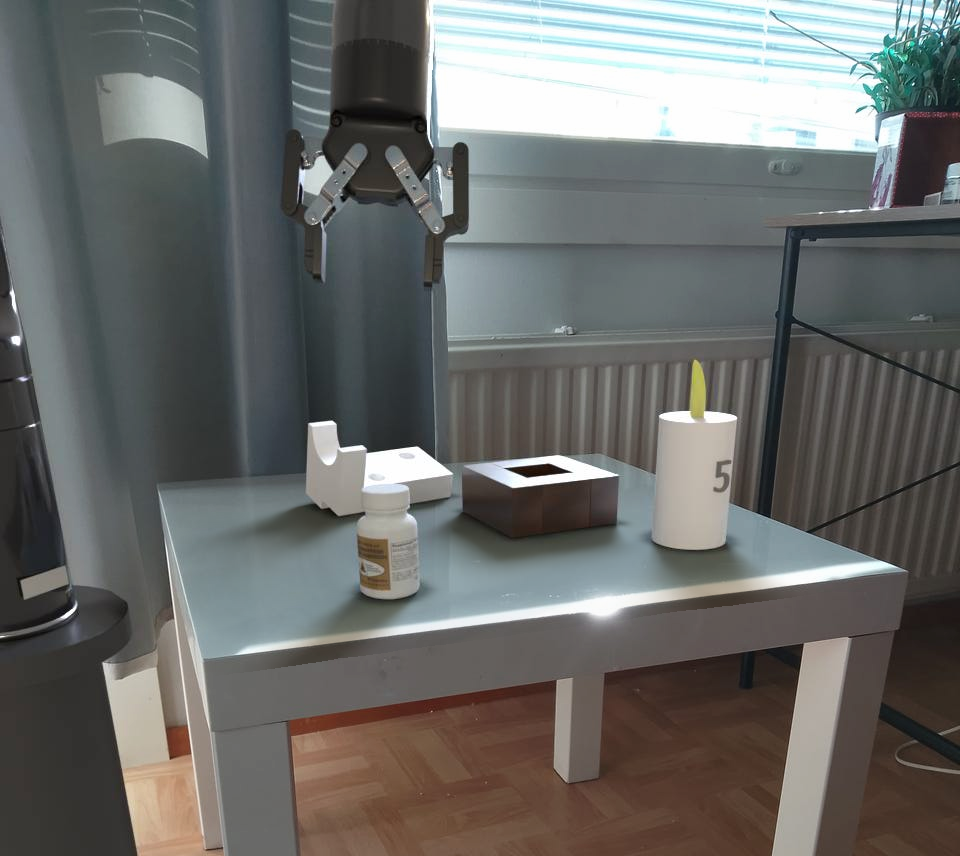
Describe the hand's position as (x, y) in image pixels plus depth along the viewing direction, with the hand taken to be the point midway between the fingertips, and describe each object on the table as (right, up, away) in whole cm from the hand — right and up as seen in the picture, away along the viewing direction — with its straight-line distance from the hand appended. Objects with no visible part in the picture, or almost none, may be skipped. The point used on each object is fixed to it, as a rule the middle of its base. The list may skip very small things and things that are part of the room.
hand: (373, 285), depth 72 cm
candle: (+27, -19, +9) cm, 34 cm away
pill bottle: (+2, -24, -3) cm, 24 cm away
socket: (+14, -16, +16) cm, 27 cm away
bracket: (-2, -13, +23) cm, 27 cm away
